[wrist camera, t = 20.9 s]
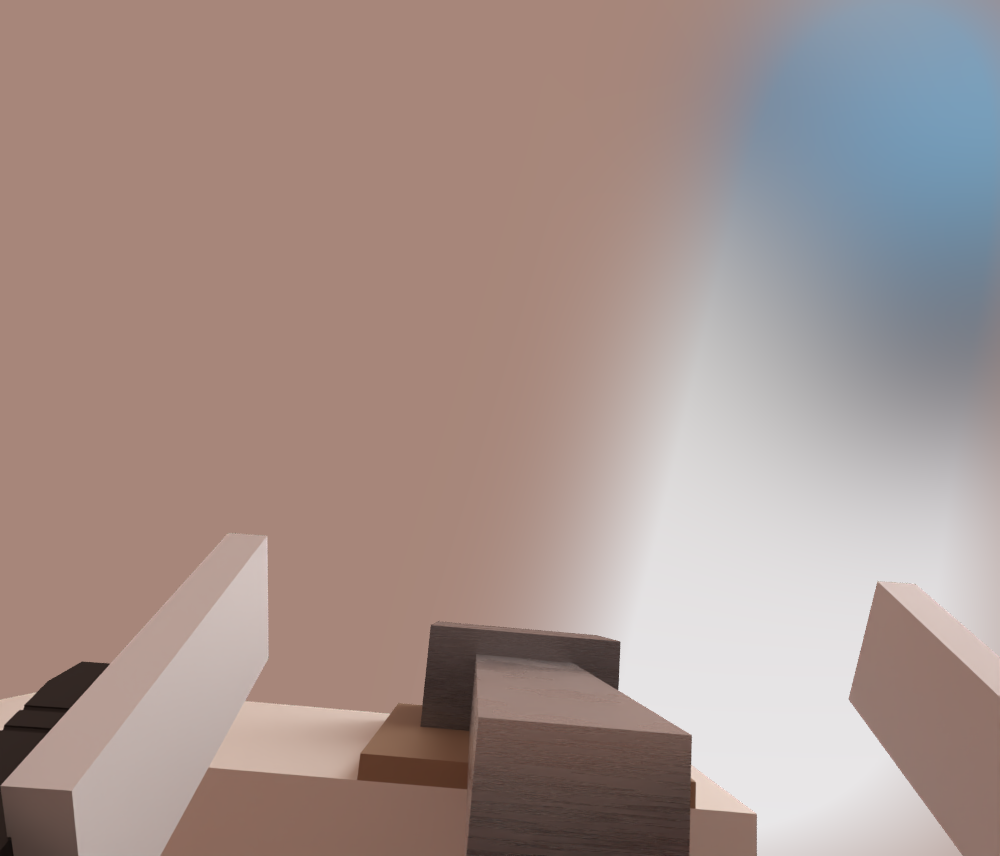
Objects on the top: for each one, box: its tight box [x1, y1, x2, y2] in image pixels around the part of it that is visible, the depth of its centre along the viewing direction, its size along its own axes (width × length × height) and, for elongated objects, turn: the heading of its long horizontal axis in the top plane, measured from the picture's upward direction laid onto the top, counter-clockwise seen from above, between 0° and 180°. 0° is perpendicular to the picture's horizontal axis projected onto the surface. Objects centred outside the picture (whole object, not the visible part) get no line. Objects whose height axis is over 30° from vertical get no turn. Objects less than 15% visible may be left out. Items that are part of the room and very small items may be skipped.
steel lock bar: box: [420, 622, 692, 856], centre depth 24 cm, size 23×8×4 cm, turn 2°
